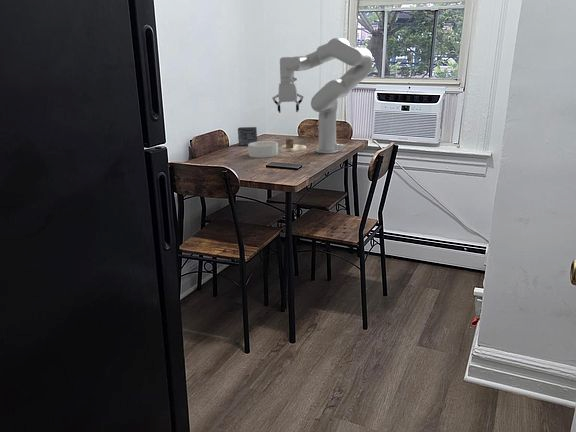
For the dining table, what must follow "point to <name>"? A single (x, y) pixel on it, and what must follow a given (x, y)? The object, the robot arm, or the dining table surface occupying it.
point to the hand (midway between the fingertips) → (288, 112)
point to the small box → (247, 135)
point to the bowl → (263, 149)
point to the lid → (290, 146)
